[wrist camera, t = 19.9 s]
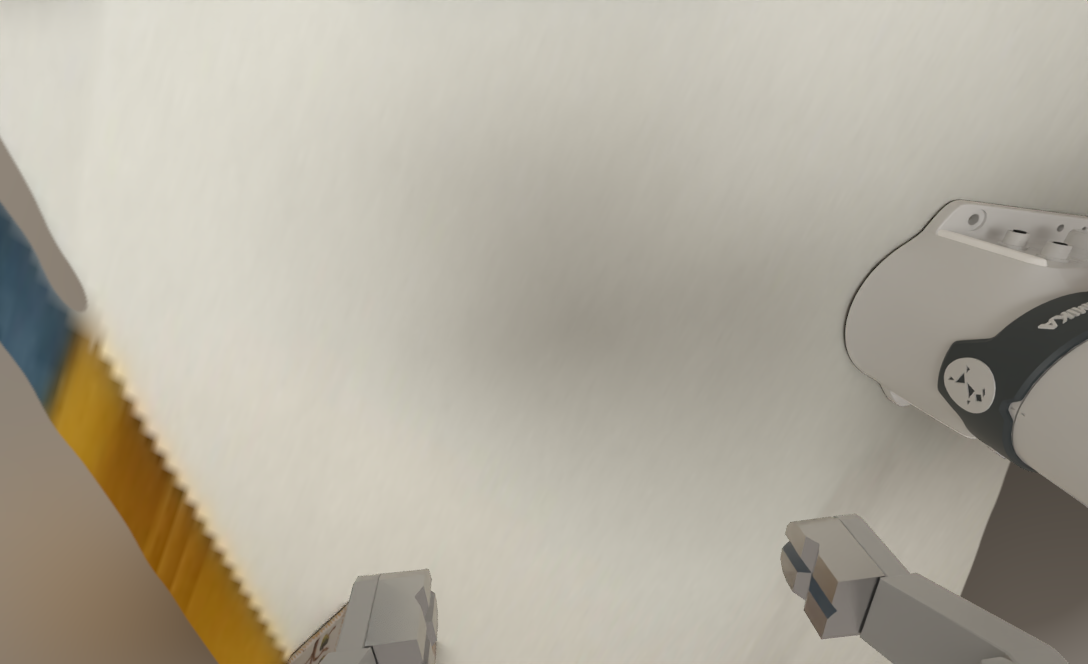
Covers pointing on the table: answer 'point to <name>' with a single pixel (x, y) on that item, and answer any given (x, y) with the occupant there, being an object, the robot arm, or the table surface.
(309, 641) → the decorative jar
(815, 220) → the table surface
